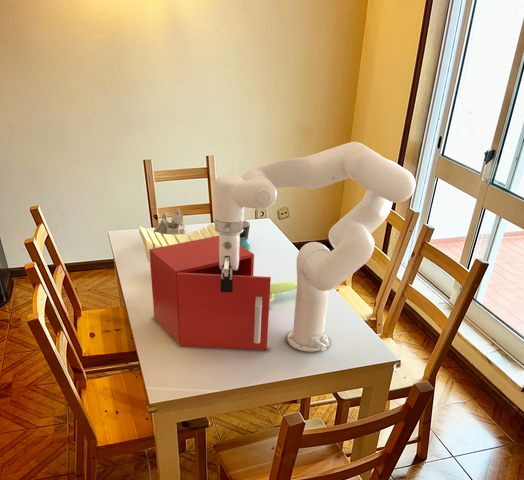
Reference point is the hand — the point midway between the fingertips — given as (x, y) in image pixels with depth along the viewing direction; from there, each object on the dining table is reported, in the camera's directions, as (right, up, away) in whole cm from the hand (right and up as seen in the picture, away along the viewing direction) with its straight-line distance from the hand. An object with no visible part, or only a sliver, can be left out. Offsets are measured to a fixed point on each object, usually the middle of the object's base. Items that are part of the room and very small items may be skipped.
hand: (227, 283), depth 154 cm
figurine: (+17, -1, +40) cm, 44 cm away
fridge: (-10, -9, +25) cm, 28 cm away
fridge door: (-2, -19, +10) cm, 22 cm away
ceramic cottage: (-29, +25, +77) cm, 86 cm away
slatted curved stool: (-19, +9, +53) cm, 57 cm away
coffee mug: (0, +26, +80) cm, 84 cm away
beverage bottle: (+1, +7, +51) cm, 51 cm away
